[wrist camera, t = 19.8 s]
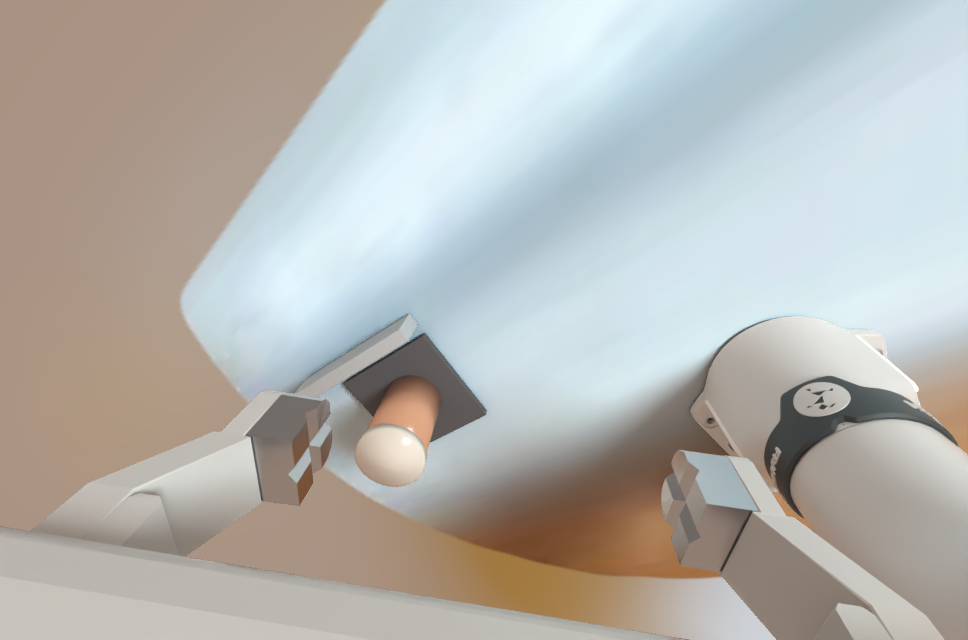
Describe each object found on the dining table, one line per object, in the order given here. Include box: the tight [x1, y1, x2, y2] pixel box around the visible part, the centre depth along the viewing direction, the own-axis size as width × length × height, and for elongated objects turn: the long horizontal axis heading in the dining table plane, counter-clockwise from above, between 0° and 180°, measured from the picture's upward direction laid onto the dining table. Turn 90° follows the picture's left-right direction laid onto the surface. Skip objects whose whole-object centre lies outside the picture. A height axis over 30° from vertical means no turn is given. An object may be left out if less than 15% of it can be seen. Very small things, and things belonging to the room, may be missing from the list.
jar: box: [355, 375, 441, 487], centre depth 47 cm, size 7×7×10 cm
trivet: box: [344, 333, 487, 442], centre depth 52 cm, size 12×12×1 cm
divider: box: [294, 313, 418, 397], centre depth 49 cm, size 2×16×4 cm, turn 124°
